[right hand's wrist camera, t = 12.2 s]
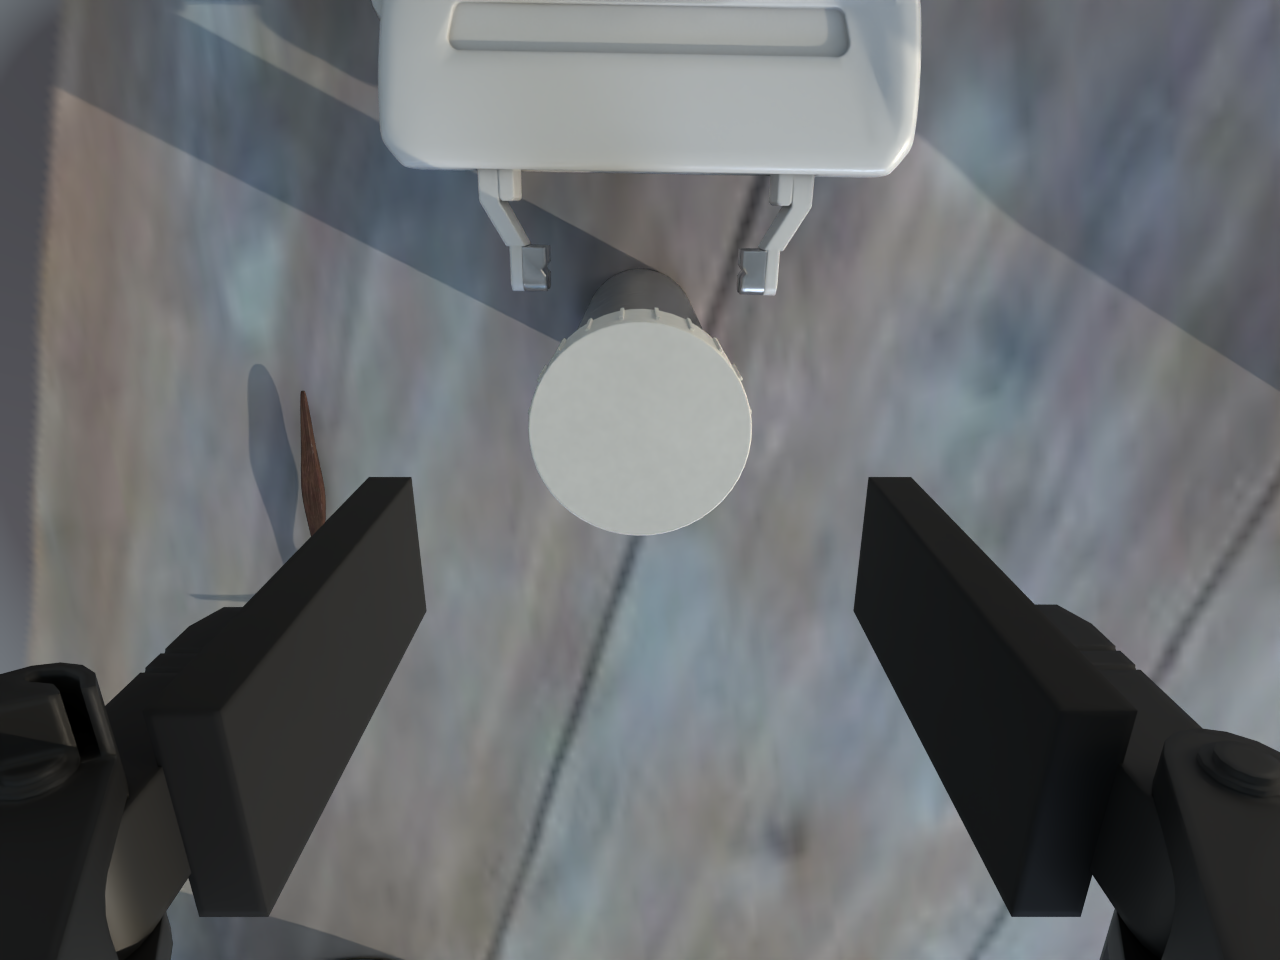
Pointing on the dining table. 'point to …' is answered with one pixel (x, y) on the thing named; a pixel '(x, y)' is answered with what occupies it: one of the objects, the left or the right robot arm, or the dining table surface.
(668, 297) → the jar
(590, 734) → the dining table surface
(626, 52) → the left robot arm
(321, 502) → the fork
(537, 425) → the lid
